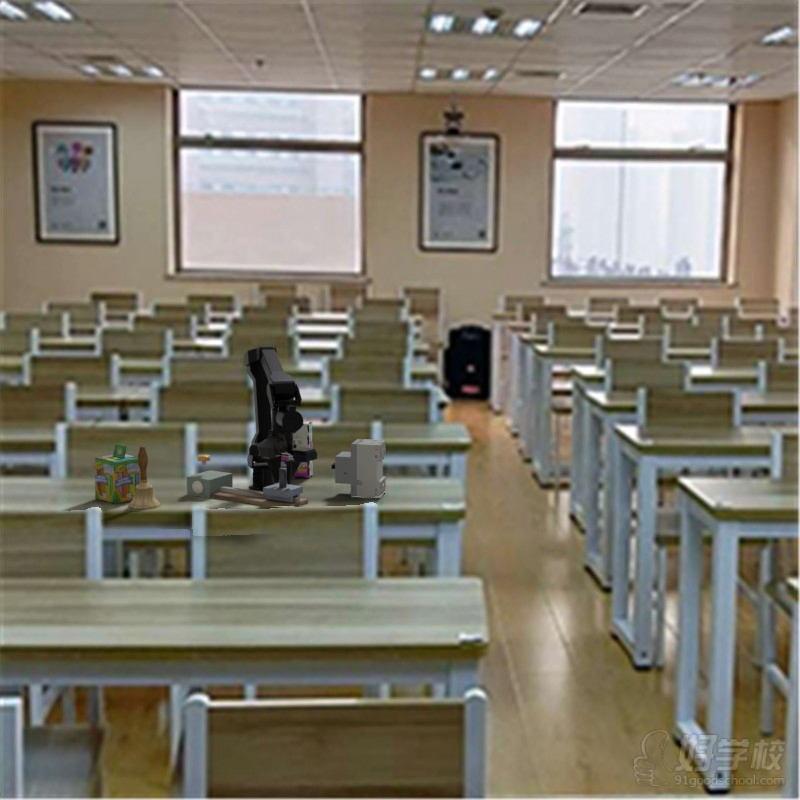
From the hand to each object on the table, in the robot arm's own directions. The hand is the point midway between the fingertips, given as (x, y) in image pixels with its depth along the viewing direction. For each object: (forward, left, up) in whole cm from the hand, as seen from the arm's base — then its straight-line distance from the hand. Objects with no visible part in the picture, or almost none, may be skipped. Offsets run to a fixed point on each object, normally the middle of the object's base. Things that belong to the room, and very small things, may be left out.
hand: (282, 483), depth 313 cm
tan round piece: (0, -27, +2) cm, 27 cm away
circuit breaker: (-20, +11, -6) cm, 24 cm away
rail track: (0, -8, -6) cm, 10 cm away
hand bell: (+21, -30, -6) cm, 37 cm away
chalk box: (+19, -41, -6) cm, 46 cm away
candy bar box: (-30, -18, -6) cm, 35 cm away
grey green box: (0, -25, -6) cm, 26 cm away
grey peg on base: (0, 0, -4) cm, 4 cm away
